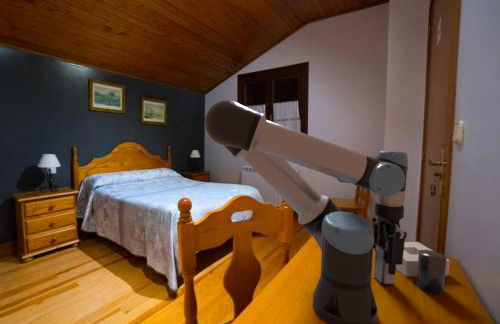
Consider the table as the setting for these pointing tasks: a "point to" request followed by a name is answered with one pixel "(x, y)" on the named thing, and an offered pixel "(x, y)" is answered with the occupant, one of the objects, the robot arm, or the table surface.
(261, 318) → the table surface
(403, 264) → the socket block
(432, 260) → the cylinder
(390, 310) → the table surface
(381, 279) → the square bit
